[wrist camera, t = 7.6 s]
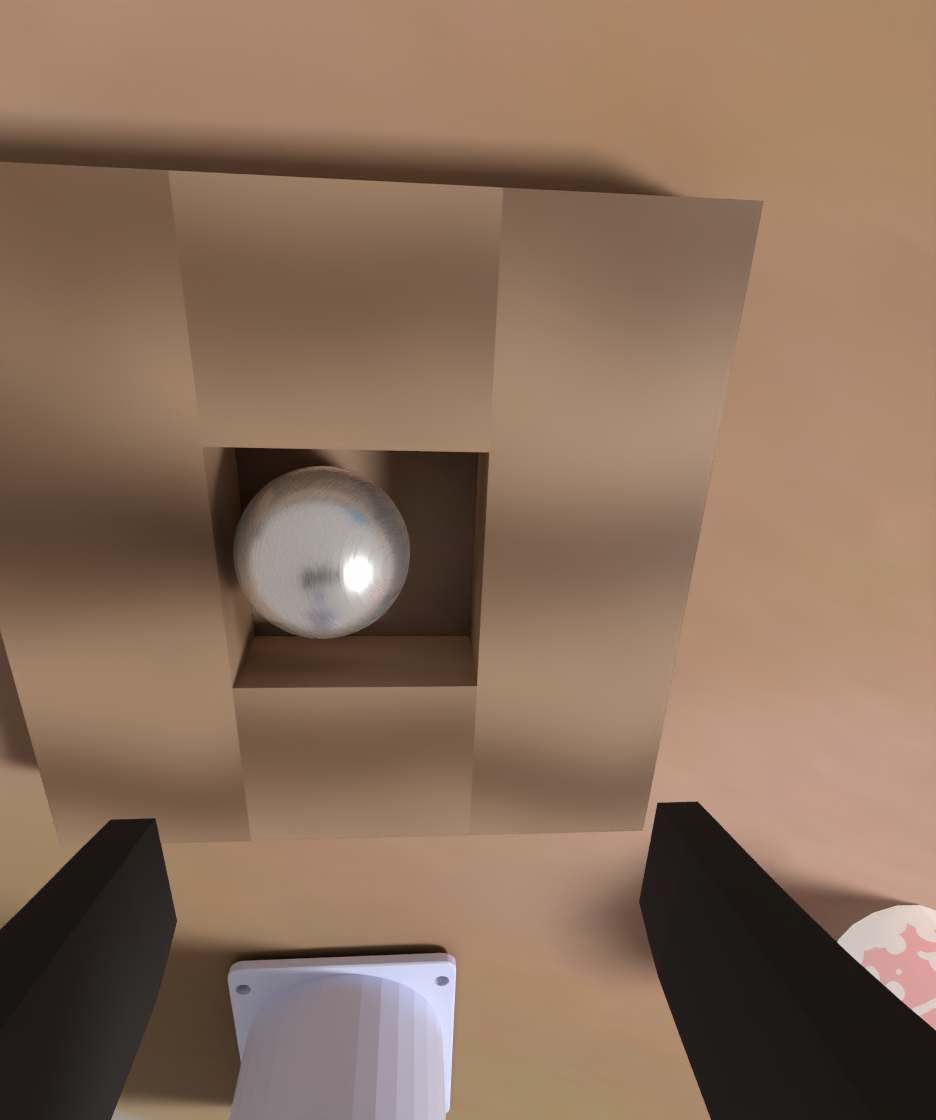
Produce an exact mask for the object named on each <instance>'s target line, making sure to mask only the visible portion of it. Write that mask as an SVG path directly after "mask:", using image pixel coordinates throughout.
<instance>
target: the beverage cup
mask: <svg viewBox="0 0 936 1120" xmlns="http://www.w3.org/2000/svg"><path fill="white" fill-rule="evenodd" d="M837 943H838V944H839V945H840V946H841V947H843V948H844V949H845V950H846V951H847V952H848V953H849V954H850V955H851V956H852V957H853V958H854V959H855V960H856V961H858V962H859V963H860V964H861V965H862V966H863V967H864V968H865V969H867V970H868V971H869V972H870V973H871V974H872V975H873V976H874V977H875V978H877V979H878V980H879V981H880V982H881V983H882V984H883V985H884V986H885V987H887V988H888V989H889V990H890V991H891V992H892V993H893V994H894V995H895V996H897V997H898V998H899V999H900V1000H901V1001H902V1002H903V1003H904V1004H906V1005H907V1006H908V1007H909V1008H910V1009H911V1010H913V1011H914V1012H915V1013H916V1014H917V1015H918V1016H920V1017H921V1018H922V1019H923V1020H924V1021H926V1022H927V1023H928V1024H929V1025H930V1026H931V1027H933V1028H934V1029H935V1030H936V910H933V909H930V908H927V907H924V906H921V905H897V906H894V907H890V908H887V909H884V910H880V911H877V912H874V913H872V914H870V915H868V916H867V917H865V918H863V919H862V920H860V921H858V922H856V923H855V924H853V925H852V926H851V927H850V928H849V929H848V930H847V931H846V932H845V933H844V934H843V935H842V936H841V938H840V939H839V940H838V942H837Z"/></svg>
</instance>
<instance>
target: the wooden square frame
mask: <svg viewBox="0 0 936 1120" xmlns="http://www.w3.org/2000/svg"><path fill="white" fill-rule="evenodd" d="M762 206H763V201H754V200H735V199H716V198H696V197H677V196H657V195H638V194H618V193H599V192H580V191H560V190H541V189H521V188H502V187H482V186H463V185H444V184H424V183H405V182H385V181H366V180H347V179H327V178H308V177H288V176H269V175H249V174H230V173H211V172H191V171H172V170H152V169H133V168H114V167H94V166H75V165H55V164H36V163H16V162H0V631H1V635H2V639H3V642H4V646H5V649H6V653H7V657H8V660H9V664H10V667H11V671H12V674H13V678H14V682H15V685H16V689H17V692H18V696H19V700H20V703H21V707H22V710H23V714H24V717H25V721H26V725H27V728H28V732H29V735H30V739H31V742H32V746H33V750H34V753H35V757H36V760H37V764H38V768H39V771H40V775H41V778H42V782H43V785H44V789H45V793H46V796H47V800H48V803H49V807H50V810H51V814H52V818H53V821H54V825H55V828H56V832H57V836H58V839H59V843H60V846H75V845H85V844H86V843H87V842H88V841H89V840H90V839H91V838H92V837H93V836H94V835H95V834H96V833H97V832H98V831H99V830H100V829H101V828H102V827H103V826H104V825H105V824H106V823H108V822H109V821H110V820H113V819H146V818H156V823H157V828H158V832H159V837H160V842H161V843H190V842H228V841H267V840H305V839H344V838H382V837H420V836H459V835H497V834H536V833H574V832H612V831H643V827H644V822H645V816H646V811H647V806H648V801H649V796H650V790H651V785H652V780H653V775H654V770H655V764H656V759H657V754H658V749H659V743H660V738H661V733H662V728H663V723H664V717H665V712H666V707H667V702H668V697H669V691H670V686H671V681H672V676H673V670H674V665H675V660H676V655H677V650H678V644H679V639H680V634H681V629H682V624H683V618H684V613H685V608H686V603H687V597H688V592H689V587H690V582H691V577H692V571H693V566H694V561H695V556H696V551H697V545H698V540H699V535H700V530H701V524H702V519H703V514H704V509H705V504H706V498H707V493H708V488H709V483H710V478H711V472H712V467H713V462H714V457H715V451H716V446H717V441H718V436H719V431H720V425H721V420H722V415H723V410H724V405H725V399H726V394H727V389H728V384H729V378H730V373H731V368H732V363H733V358H734V352H735V347H736V342H737V337H738V332H739V326H740V321H741V316H742V311H743V305H744V300H745V295H746V290H747V285H748V279H749V274H750V269H751V264H752V259H753V253H754V248H755V243H756V238H757V232H758V227H759V222H760V217H761V212H762ZM235 447H240V448H290V449H341V450H392V451H443V452H478V468H477V490H476V512H475V534H474V556H473V578H472V600H471V621H470V636H342V637H336V638H329V639H317V638H307V637H302V636H255V634H254V625H253V615H252V605H251V603H250V602H249V600H248V599H247V598H246V596H245V595H244V593H243V591H242V589H241V586H240V584H239V581H238V578H237V576H236V572H235V567H234V558H233V546H234V538H235V533H236V529H237V526H238V523H239V521H240V518H241V516H242V509H241V499H240V490H239V480H238V470H237V461H236V451H235Z"/></svg>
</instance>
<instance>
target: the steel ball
mask: <svg viewBox="0 0 936 1120" xmlns="http://www.w3.org/2000/svg"><path fill="white" fill-rule="evenodd" d="M233 558H234V567H235V572H236V576H237V578H238V581H239V584H240V586H241V589H242V591H243V593H244V595H245V596H246V598H247V599H248V600H249V602H250V603H251V605H252V606H253V607H254V608H255V610H256V611H257V612H258V613H259V614H260V615H262V616H263V617H264V618H265V619H266V620H268V621H269V622H270V623H272V624H273V625H275V626H277V627H278V628H280V629H282V630H284V631H286V632H289V633H292V634H294V635H298V636H302V637H307V638H317V639H329V638H336V637H342V636H346V635H349V634H352V633H355V632H358V631H360V630H361V629H363V628H365V627H367V626H369V625H371V624H372V623H373V622H375V621H376V620H377V619H379V618H380V617H381V616H382V615H383V614H384V613H385V612H386V611H387V610H388V609H389V608H390V607H391V605H392V604H393V603H394V601H395V600H396V599H397V597H398V595H399V594H400V592H401V590H402V587H403V585H404V582H405V580H406V576H407V573H408V568H409V562H410V543H409V536H408V532H407V529H406V525H405V522H404V520H403V517H402V516H401V514H400V512H399V510H398V508H397V507H396V505H395V504H394V502H393V501H392V500H391V499H390V497H389V496H388V495H387V494H386V493H385V492H384V491H383V490H382V489H381V488H380V487H379V486H377V485H376V484H375V483H373V482H372V481H370V480H369V479H367V478H365V477H364V476H362V475H360V474H357V473H355V472H352V471H350V470H347V469H342V468H337V467H332V466H312V467H306V468H300V469H297V470H294V471H291V472H288V473H285V474H283V475H281V476H279V477H278V478H276V479H274V480H273V481H271V482H269V483H268V484H267V485H266V486H264V487H263V488H262V489H261V490H260V491H259V492H258V493H257V494H256V495H255V496H254V497H253V498H252V500H251V501H250V502H249V504H248V505H247V507H246V508H245V510H244V512H243V514H242V516H241V518H240V521H239V523H238V526H237V529H236V533H235V538H234V546H233Z"/></svg>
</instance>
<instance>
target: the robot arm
mask: <svg viewBox="0 0 936 1120" xmlns="http://www.w3.org/2000/svg"><path fill="white" fill-rule="evenodd" d="M639 903H640V907H641V911H642V915H643V919H644V923H645V927H646V931H647V936H648V940H649V944H650V947H651V951H652V955H653V959H654V962H655V966H656V970H657V974H658V977H659V980H660V983H661V985H662V988H663V991H664V994H665V997H666V999H667V1002H668V1005H669V1007H670V1010H671V1013H672V1016H673V1018H674V1021H675V1024H676V1027H677V1029H678V1032H679V1035H680V1037H681V1040H682V1043H683V1046H684V1048H685V1051H686V1054H687V1056H688V1059H689V1062H690V1064H691V1067H692V1070H693V1072H694V1075H695V1078H696V1080H697V1083H698V1086H699V1088H700V1091H701V1094H702V1096H703V1099H704V1102H705V1104H706V1107H707V1110H708V1113H709V1115H710V1118H711V1120H936V1030H935V1029H934V1028H933V1027H931V1026H930V1025H929V1024H928V1023H927V1022H926V1021H924V1020H923V1019H922V1018H921V1017H920V1016H918V1015H917V1014H916V1013H915V1012H914V1011H913V1010H911V1009H910V1008H909V1007H908V1006H907V1005H906V1004H904V1003H903V1002H902V1001H901V1000H900V999H899V998H898V997H897V996H895V995H894V994H893V993H892V992H891V991H890V990H889V989H888V988H887V987H885V986H884V985H883V984H882V983H881V982H880V981H879V980H878V979H877V978H875V977H874V976H873V975H872V974H871V973H870V972H869V971H868V970H867V969H865V968H864V967H863V966H862V965H861V964H860V963H859V962H858V961H856V960H855V959H854V958H853V957H852V956H851V955H850V954H849V953H848V952H847V951H846V950H845V949H844V948H843V947H841V946H840V945H839V944H838V943H837V942H836V941H835V940H834V939H833V938H832V937H831V936H830V935H829V934H828V933H827V932H826V931H825V930H824V929H823V928H822V927H821V926H820V925H819V924H818V923H817V922H815V921H814V920H813V919H812V918H811V917H810V916H809V915H808V914H807V913H806V912H805V911H804V910H803V909H802V908H801V907H800V906H799V905H798V904H797V903H796V902H795V901H794V900H793V899H792V898H791V897H790V896H789V895H788V894H787V893H786V892H785V891H784V890H783V889H782V888H781V887H780V886H779V885H778V884H777V883H776V882H775V881H774V880H773V879H772V878H771V877H770V876H769V875H768V874H767V873H766V872H765V871H764V870H763V869H762V868H761V867H760V866H759V865H758V864H757V862H756V861H755V860H754V859H753V858H752V857H751V856H750V855H749V854H748V853H747V852H746V851H745V850H744V849H743V848H742V847H741V846H740V845H739V844H738V843H737V842H736V841H735V840H734V839H733V838H732V837H731V836H730V835H729V833H728V832H727V831H726V830H725V829H724V828H723V827H722V826H721V825H720V824H719V823H718V822H717V821H716V820H715V819H714V818H713V817H712V816H711V815H710V814H709V813H708V812H707V811H706V810H705V809H704V808H703V807H702V806H701V805H700V804H699V803H698V802H670V803H657V808H656V814H655V819H654V825H653V830H652V835H651V841H650V846H649V852H648V857H647V862H646V868H645V873H644V879H643V884H642V890H641V895H640V900H639ZM176 923H177V919H176V914H175V909H174V904H173V900H172V895H171V890H170V885H169V880H168V876H167V871H166V866H165V861H164V856H163V852H162V847H161V842H160V837H159V832H158V828H157V823H156V818H146V819H113V820H110V821H109V822H108V823H106V824H105V825H104V826H103V827H102V828H101V829H100V830H99V831H98V832H97V833H96V834H95V835H94V836H93V837H92V838H91V839H90V840H89V841H88V842H87V843H86V844H85V845H84V846H83V847H82V848H81V849H80V850H79V851H78V852H77V853H76V854H75V855H74V856H73V857H72V858H71V859H70V860H69V861H68V862H67V863H66V864H65V865H64V866H63V867H62V868H61V869H60V870H59V872H58V873H57V874H56V875H55V876H54V877H53V878H52V879H51V880H50V881H49V882H48V883H47V884H46V885H45V886H44V887H43V888H42V889H41V890H40V891H39V892H38V893H37V894H36V895H35V896H34V897H33V898H32V899H31V900H30V901H29V902H28V903H27V904H26V905H25V906H24V907H23V908H22V909H21V910H20V911H19V912H18V913H17V914H16V915H15V916H14V917H13V918H12V919H11V920H10V921H9V922H8V923H7V924H6V925H4V926H3V927H2V928H1V929H0V1120H111V1118H112V1115H113V1113H114V1110H115V1108H116V1105H117V1102H118V1100H119V1097H120V1095H121V1092H122V1089H123V1087H124V1084H125V1082H126V1079H127V1076H128V1074H129V1071H130V1069H131V1066H132V1063H133V1061H134V1058H135V1055H136V1053H137V1050H138V1047H139V1045H140V1042H141V1039H142V1037H143V1034H144V1032H145V1029H146V1026H147V1024H148V1021H149V1018H150V1015H151V1013H152V1010H153V1007H154V1005H155V1002H156V999H157V995H158V991H159V988H160V984H161V981H162V977H163V973H164V970H165V966H166V962H167V958H168V954H169V950H170V947H171V943H172V939H173V935H174V931H175V927H176ZM455 981H456V962H455V958H454V957H453V956H452V955H450V954H447V953H426V954H401V955H376V956H351V957H326V958H301V959H276V960H251V961H239V962H237V963H235V964H233V965H232V966H231V967H230V970H229V974H228V986H229V992H230V998H231V1004H232V1011H233V1017H234V1023H235V1029H236V1035H237V1042H238V1048H239V1054H240V1060H241V1067H240V1072H239V1076H238V1081H237V1085H236V1090H235V1094H234V1099H233V1104H232V1108H231V1113H230V1117H229V1120H446V1113H447V1112H448V1111H449V1108H450V1088H451V1066H452V1045H453V1024H454V1003H455Z"/></svg>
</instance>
